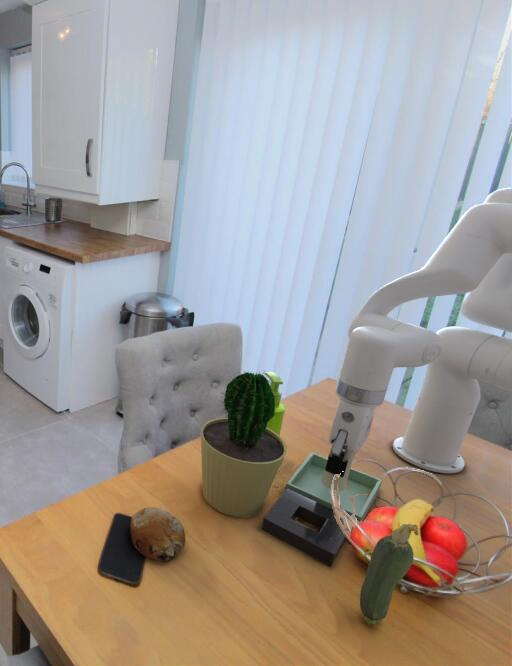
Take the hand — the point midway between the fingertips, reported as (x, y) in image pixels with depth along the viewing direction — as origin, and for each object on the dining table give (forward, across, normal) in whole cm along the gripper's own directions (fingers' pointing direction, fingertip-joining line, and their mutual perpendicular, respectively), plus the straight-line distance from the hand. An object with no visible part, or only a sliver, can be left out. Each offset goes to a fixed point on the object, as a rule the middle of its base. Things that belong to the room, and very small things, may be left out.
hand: (337, 467), depth 98 cm
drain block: (+7, -15, 0) cm, 16 cm away
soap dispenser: (+7, +4, +16) cm, 18 cm away
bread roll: (+7, -38, +18) cm, 42 cm away
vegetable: (+7, -27, -13) cm, 31 cm away
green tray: (+7, 0, 0) cm, 7 cm away
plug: (+4, 0, 0) cm, 4 cm away
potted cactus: (+7, -16, +14) cm, 22 cm away
